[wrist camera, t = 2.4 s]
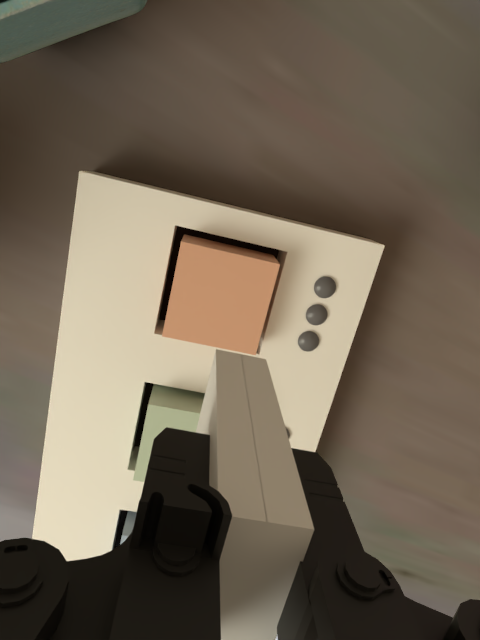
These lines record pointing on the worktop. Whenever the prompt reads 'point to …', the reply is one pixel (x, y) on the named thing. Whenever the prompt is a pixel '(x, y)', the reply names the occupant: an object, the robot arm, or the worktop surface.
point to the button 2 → (167, 419)
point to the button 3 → (220, 295)
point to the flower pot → (54, 21)
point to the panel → (175, 341)
